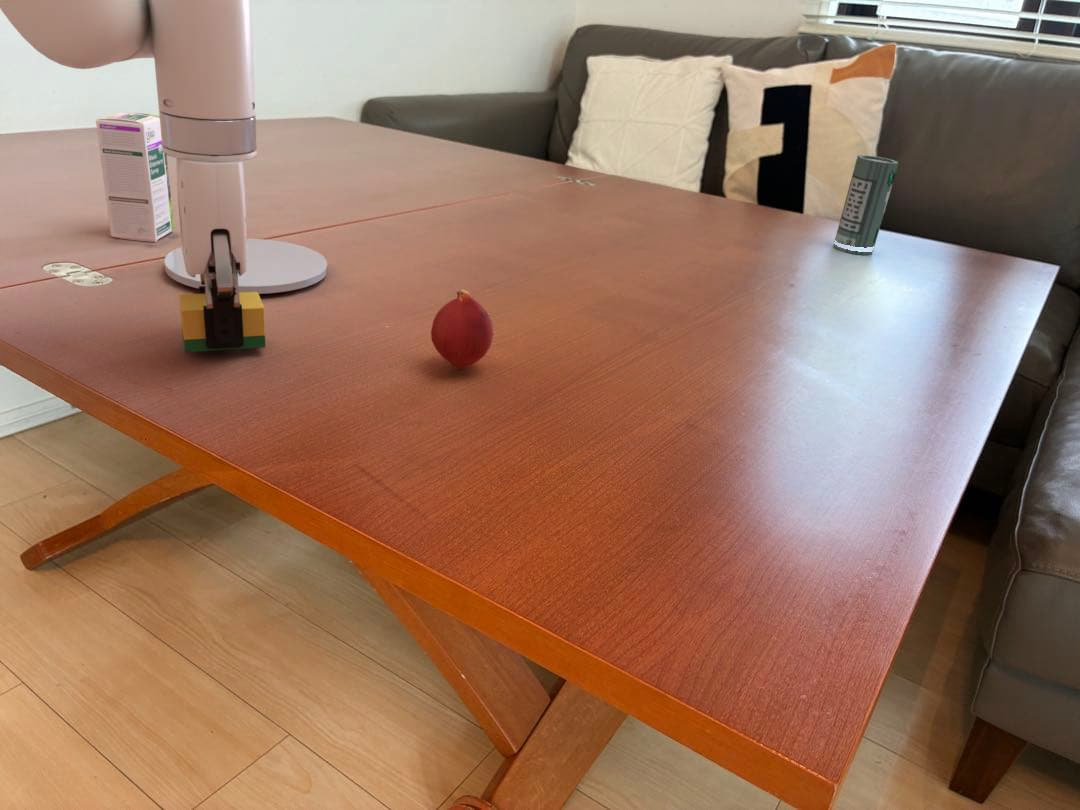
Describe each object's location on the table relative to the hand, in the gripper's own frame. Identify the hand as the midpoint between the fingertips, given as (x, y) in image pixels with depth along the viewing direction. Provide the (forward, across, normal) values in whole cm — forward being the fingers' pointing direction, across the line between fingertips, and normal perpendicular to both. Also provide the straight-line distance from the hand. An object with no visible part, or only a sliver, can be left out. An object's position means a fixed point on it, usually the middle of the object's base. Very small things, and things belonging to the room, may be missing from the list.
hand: (222, 334), depth 79 cm
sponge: (+1, 0, 0) cm, 1 cm away
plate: (+1, -22, +5) cm, 23 cm away
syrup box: (+2, -38, -6) cm, 39 cm away
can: (+2, -27, +103) cm, 106 cm away
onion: (+2, +8, +21) cm, 22 cm away
